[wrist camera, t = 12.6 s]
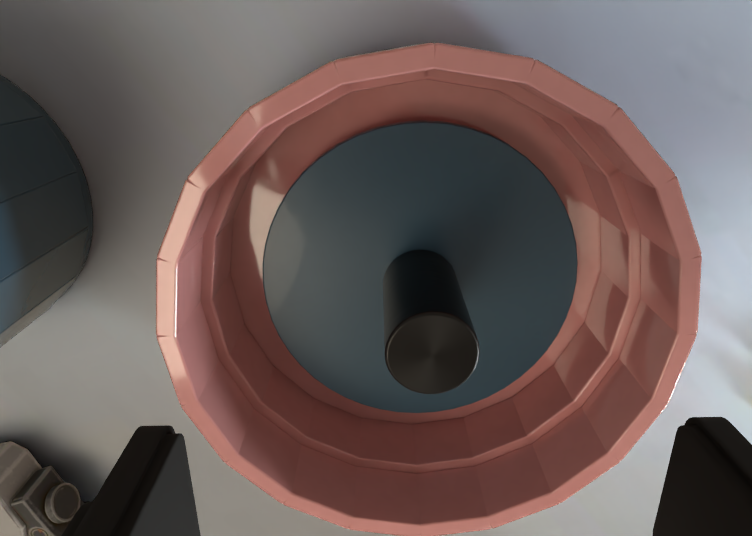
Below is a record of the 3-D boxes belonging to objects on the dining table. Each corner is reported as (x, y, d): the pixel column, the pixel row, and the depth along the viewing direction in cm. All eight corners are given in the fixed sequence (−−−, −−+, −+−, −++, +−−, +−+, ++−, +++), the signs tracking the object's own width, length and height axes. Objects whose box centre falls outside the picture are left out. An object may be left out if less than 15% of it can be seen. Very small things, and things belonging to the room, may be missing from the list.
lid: (279, 397, 23) (246, 513, 17) (255, 118, 19) (201, 149, 13) (550, 396, 23) (608, 512, 17) (587, 116, 19) (678, 146, 13)
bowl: (127, 267, 21) (48, 336, 16) (421, -66, 17) (439, -114, 12) (409, 490, 25) (418, 603, 20) (703, 264, 21) (806, 333, 16)
